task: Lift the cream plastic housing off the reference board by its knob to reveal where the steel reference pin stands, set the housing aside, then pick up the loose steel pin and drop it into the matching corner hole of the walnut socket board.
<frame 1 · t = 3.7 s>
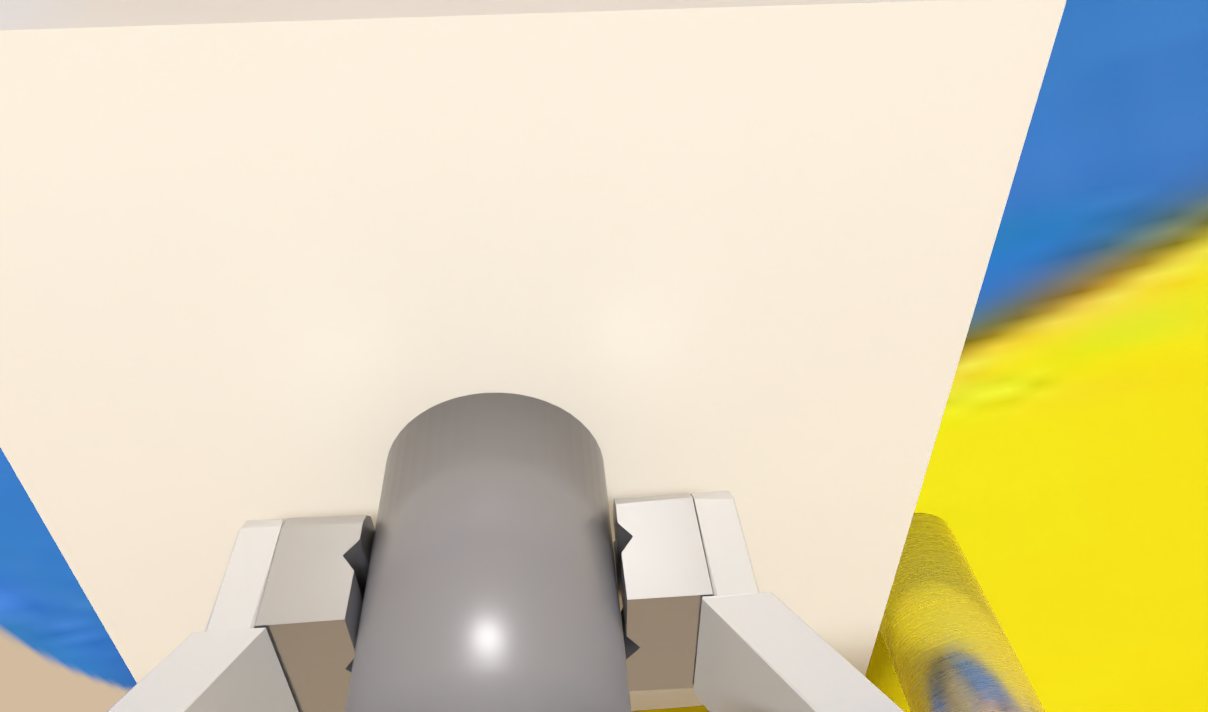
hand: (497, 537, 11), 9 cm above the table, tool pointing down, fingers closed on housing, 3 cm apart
housing: (502, 227, 18), point 1 cm above the table, touching gripper, reference board
steel pin: (902, 547, 27), on the table
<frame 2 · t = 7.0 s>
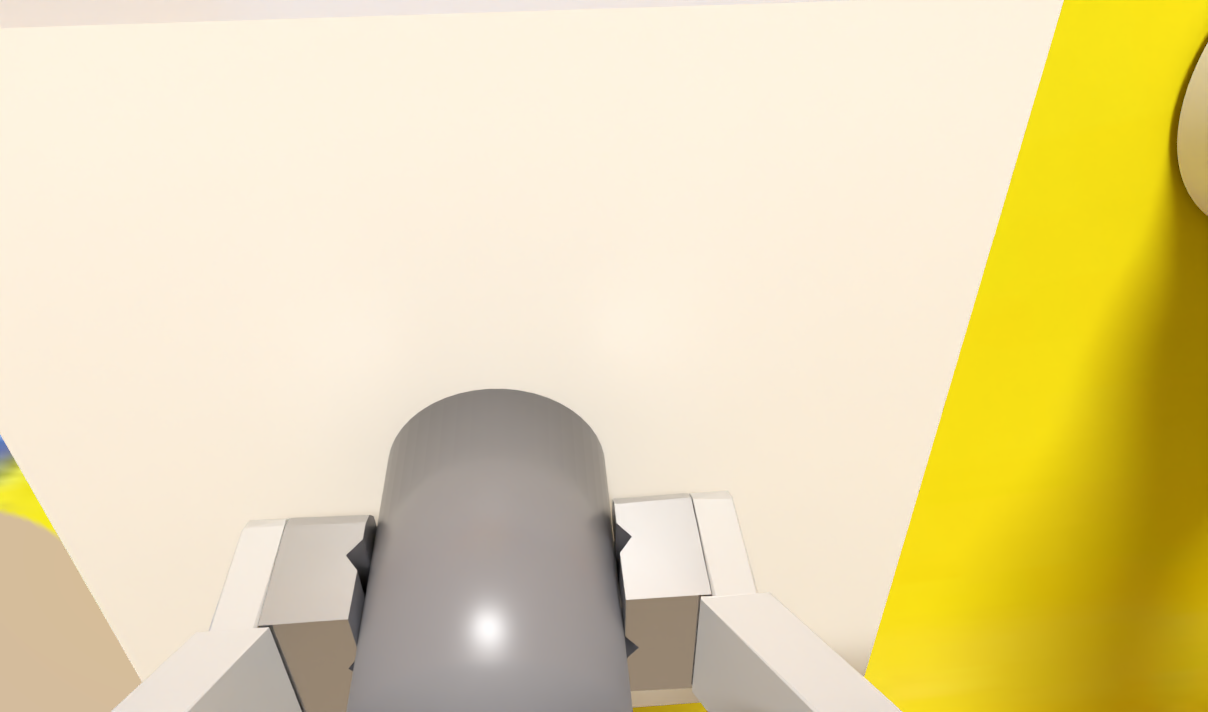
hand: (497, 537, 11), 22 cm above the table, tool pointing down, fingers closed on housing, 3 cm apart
housing: (503, 226, 18), point 14 cm above the table, touching gripper
when the fingers open (10 cm above the table, at t = 10.0 s): housing drops 1 cm, on the table.
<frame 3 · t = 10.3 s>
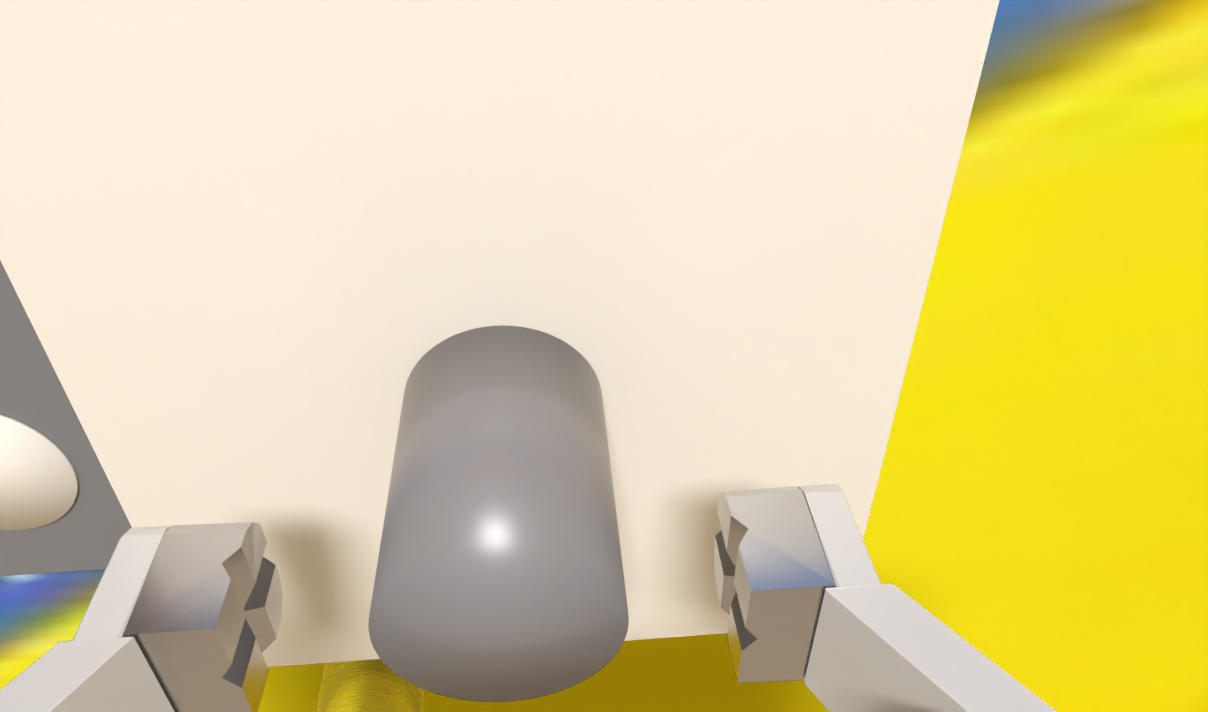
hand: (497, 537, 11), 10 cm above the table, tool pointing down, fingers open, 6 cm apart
housing: (507, 193, 19), on the table
steel pin: (380, 633, 28), on the table
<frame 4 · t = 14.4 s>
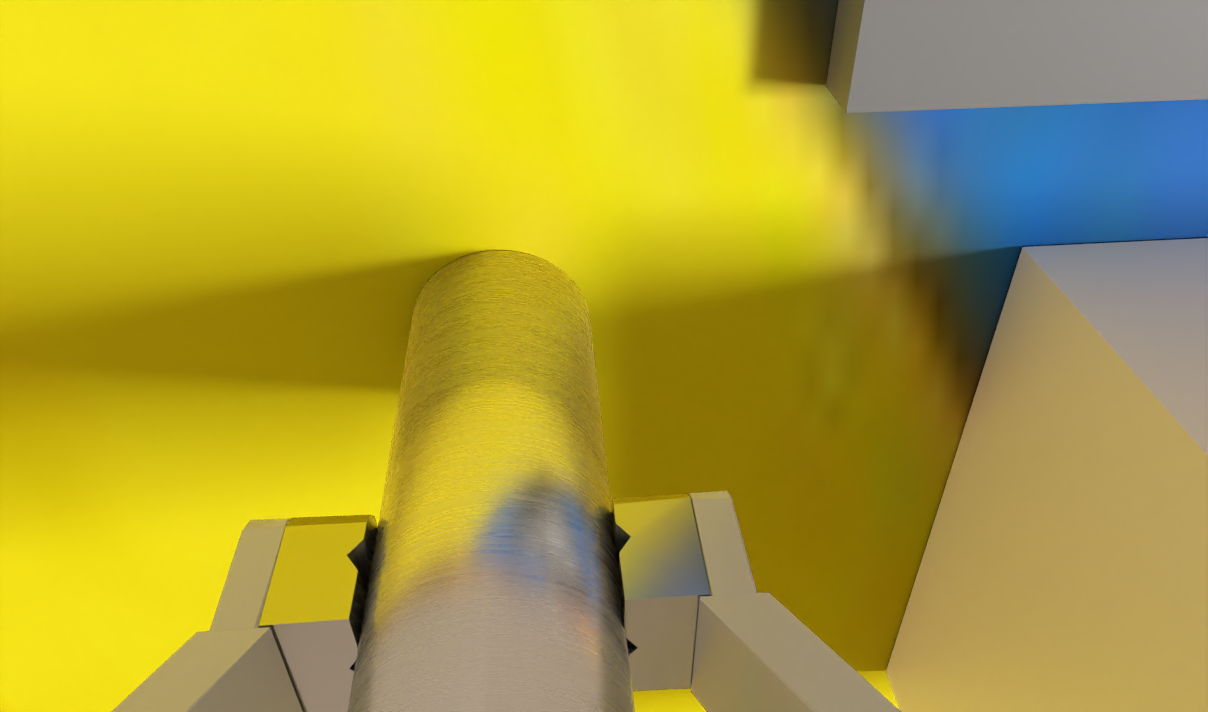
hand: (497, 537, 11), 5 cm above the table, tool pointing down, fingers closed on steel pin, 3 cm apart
steel pin: (502, 326, 15), on the table, touching gripper
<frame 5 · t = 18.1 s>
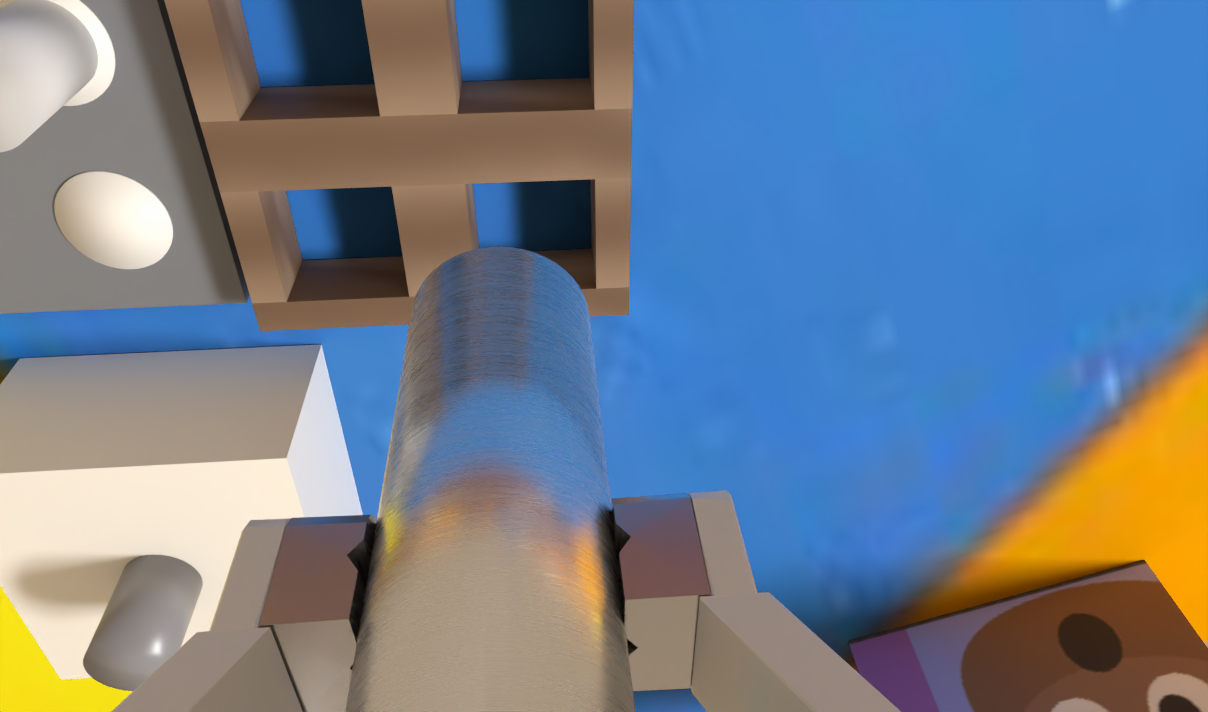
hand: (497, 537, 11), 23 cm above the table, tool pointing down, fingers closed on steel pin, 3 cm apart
housing: (211, 458, 41), on the table
steel pin: (501, 323, 15), point 19 cm above the table, touching gripper
reference board: (1, 130, 31), on the table
socket board: (431, 116, 32), on the table
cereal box: (994, 621, 54), on the table
when the fingers open (6 cm above the table, at t = 21.7 s): steel pin drops 1 cm, resting in socket board.
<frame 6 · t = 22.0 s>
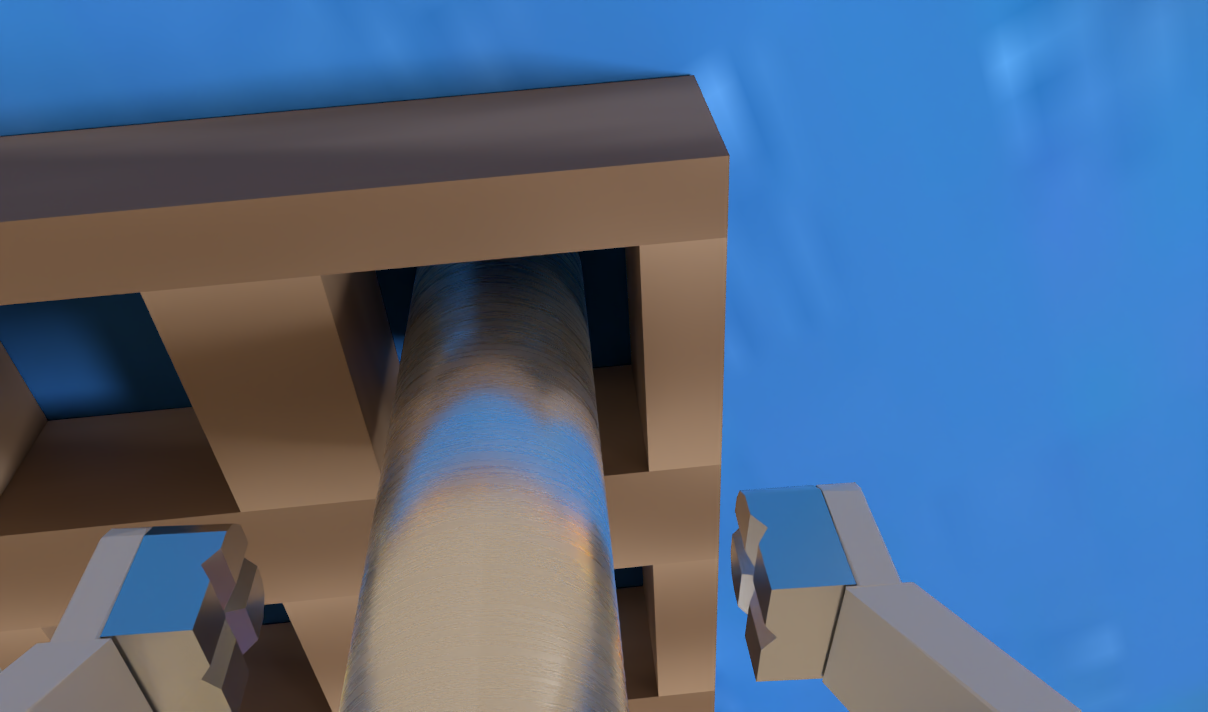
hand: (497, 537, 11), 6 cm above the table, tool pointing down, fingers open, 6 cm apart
steel pin: (500, 277, 16), resting in socket board
socket board: (356, 438, 18), on the table
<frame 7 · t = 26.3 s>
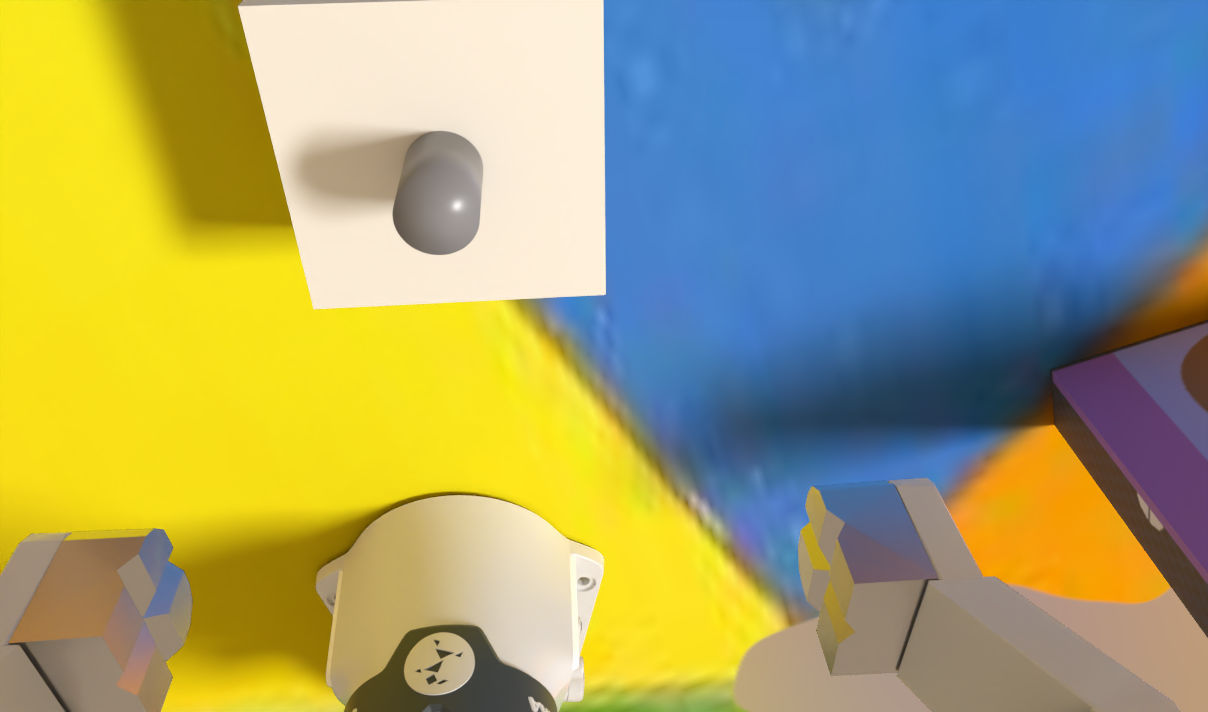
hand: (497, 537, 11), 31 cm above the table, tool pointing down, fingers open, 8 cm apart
housing: (454, 99, 40), on the table
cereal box: (1199, 349, 52), on the table
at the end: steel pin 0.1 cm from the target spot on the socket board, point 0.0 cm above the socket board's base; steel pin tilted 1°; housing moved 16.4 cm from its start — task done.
